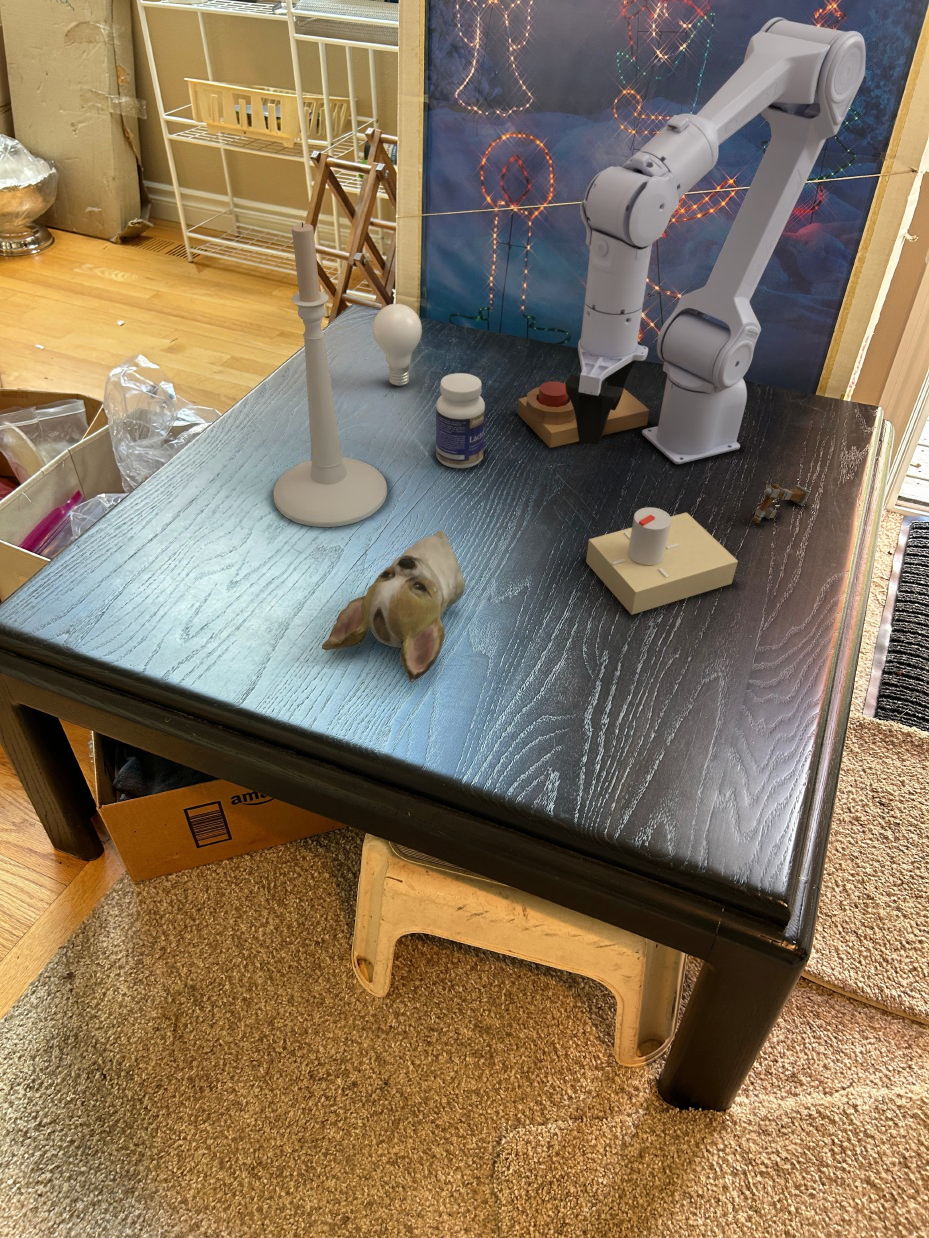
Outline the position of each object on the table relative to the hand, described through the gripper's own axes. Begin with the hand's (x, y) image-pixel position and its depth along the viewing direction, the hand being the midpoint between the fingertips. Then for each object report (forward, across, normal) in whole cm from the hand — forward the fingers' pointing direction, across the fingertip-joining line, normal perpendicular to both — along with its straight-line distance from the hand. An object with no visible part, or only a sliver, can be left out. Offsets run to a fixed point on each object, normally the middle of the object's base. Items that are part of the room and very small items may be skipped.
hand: (598, 424), depth 98 cm
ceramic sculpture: (+9, -29, +10) cm, 32 cm away
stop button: (+5, +12, +8) cm, 15 cm away
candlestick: (+9, -12, +27) cm, 31 cm away
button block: (+9, +15, +5) cm, 18 cm away
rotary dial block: (+9, -12, -10) cm, 18 cm away
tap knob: (+6, -13, -9) cm, 17 cm away
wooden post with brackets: (+9, +4, -21) cm, 23 cm away
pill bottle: (+9, +1, +16) cm, 19 cm away
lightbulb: (+9, +15, +30) cm, 35 cm away
